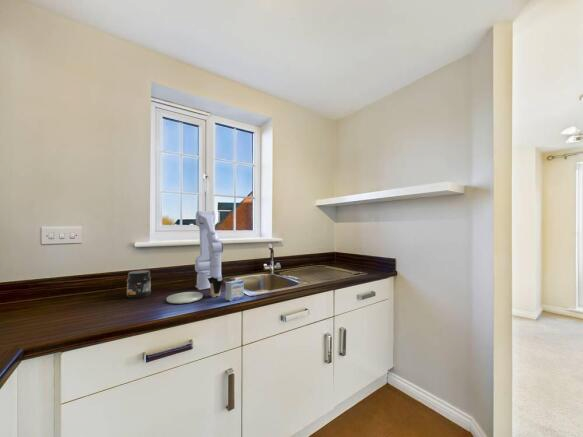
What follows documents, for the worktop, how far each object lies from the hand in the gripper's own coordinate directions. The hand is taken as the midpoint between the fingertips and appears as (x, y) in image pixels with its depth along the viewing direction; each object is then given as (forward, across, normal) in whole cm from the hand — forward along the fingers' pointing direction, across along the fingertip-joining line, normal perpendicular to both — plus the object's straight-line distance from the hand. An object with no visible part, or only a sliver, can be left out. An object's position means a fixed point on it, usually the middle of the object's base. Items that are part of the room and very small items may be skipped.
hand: (215, 292), depth 125 cm
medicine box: (+2, +11, +6) cm, 13 cm away
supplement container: (+2, -23, -32) cm, 39 cm away
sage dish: (+2, -2, -14) cm, 14 cm away
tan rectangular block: (+2, 0, 0) cm, 2 cm away
